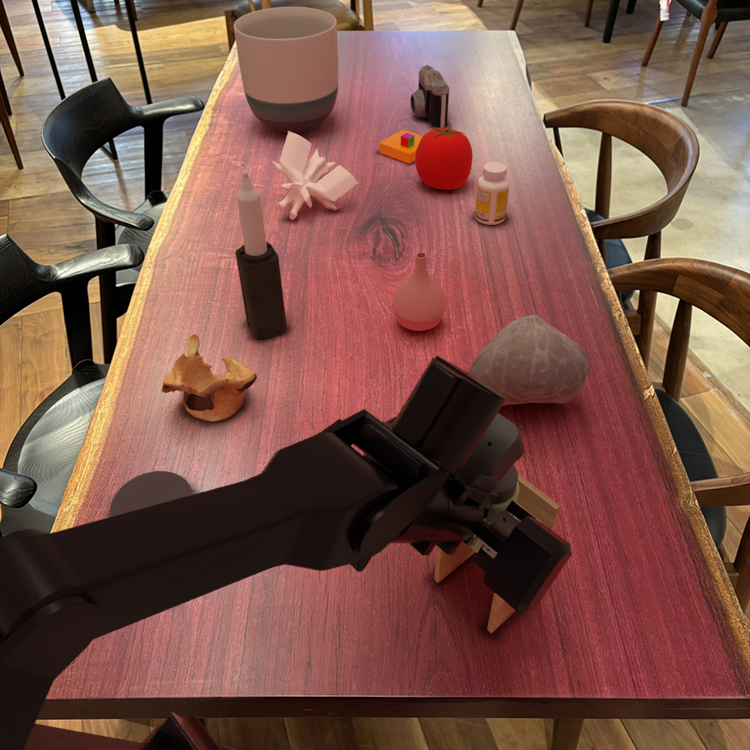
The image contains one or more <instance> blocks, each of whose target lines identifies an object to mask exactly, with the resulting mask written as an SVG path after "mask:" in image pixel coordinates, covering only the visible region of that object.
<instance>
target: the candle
mask: <svg viewBox="0 0 750 750" xmlns="http://www.w3.org/2000/svg"><path fill="white" fill-rule="evenodd" d="M249 175H250V174H249V171H248V170H247V169H244V170H242V171H241V176H242V179H241V185H240V189H239V190H238V192H237V195H236V201H237V207H238V214H239V220H240V227H241V232H242V233H241V234H242V240H243V244H242V245H241V246H240V247H238V248H237V249H236V250H235V259H236V264H237V265H236V266H237V272H238V276H239V277H238V278H239V282H240V283H239V284H240V289H241V295H242V300H243V307H244V314H245V318H246V324H247V327H249V328H250V331H251V332H252V336H253V338H254V339H255V340H258V341H263V340H267V339H270V338H273V337H277V336H281V335H283V334H285V333H286V332H287V330H288V328H287V327H288V326H287V317H286V316H287V315H286V309H285V300H284V292H283V282H282V274H281V266H280V258H279V254H278V253H277V252H276V250H275V248H274V247H273V245H272V244H271V243H270V242H268V241H267V238H266V231H265V230H266V229H265V224H264V216H263V207H262V200H261V194H260V192H259V190H257V189H256V188H255V186H254V185H253V183H252V181H251V179H250V177H249Z"/></svg>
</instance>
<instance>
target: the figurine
mask: <svg viewBox="0 0 750 750" xmlns="http://www.w3.org/2000/svg"><path fill="white" fill-rule="evenodd" d="M311 148H312V143H311V142H310V141H309V140H307V139H306V138H305V137H302V136H301V135H299V134H298V133H292V132H289V131H288V133H287V135H286V137H285V142H284V144H283V147H282V152H281V156H280V158H279V163H278V162H276V161H274V160H272V161H271V166H272V167H273V168H274V170H275V171H276V172H277V173H278V174H280V175H283V176H284V177H285V178H286V179H288V180H290V181H291V182H288V183H283V184H281V188H283V189H287V190H289V191H288V193H287V195H286V196H285V197H283V199H282V200H281V201H279V202H278V203H277V206H276V210H277V211H278V212H281V211H282V210H284V209H285V208H286V207H287V206H289V205H290V204H292V205H293V206H292V208H291V210H290V211H289V219H290V220H291V221H293V220H295V219H296V218H297V216H298V212H299V211H300V210H301V209H302V206H303V205H304V203H306V205H307V206H308V207H309V208H310V209H311V208H312V207H313V203H312V199H311V197H312V198H314V199H316V200H317V201H318V202H320V203H321V204H322V205H323V207H324V208H326V209H329V210H333V212H335V211H337V210H338V207H337V206H336V205H335V204H334V203H333V202H336V201H337V200H338V199H339V198H341V197H342V196H344V195H345V194H346V193H348V192H349V191H350V190H351V189H353V188H355V186H356V185H359V182H358V181H357V179H356V178H355V177H354V176H353V174H352V173H351V172H349V171H348V170H347V169H346V168H345V167H343V166H342V165H340V164H339V165H338V166H336V167H334V166H335V164H336V163H337V162H336V161H335V162H329V161H328V162H327V159H326V157H325V156H321V155H320V153H319V150H318V148H316V149H315V151H314V153H312V156H311V157H310V158H309V155H310V151H311V150H312V149H311ZM333 167H334V169H332V168H333ZM331 169H332V170H331ZM330 170H331V171H330Z"/></svg>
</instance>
